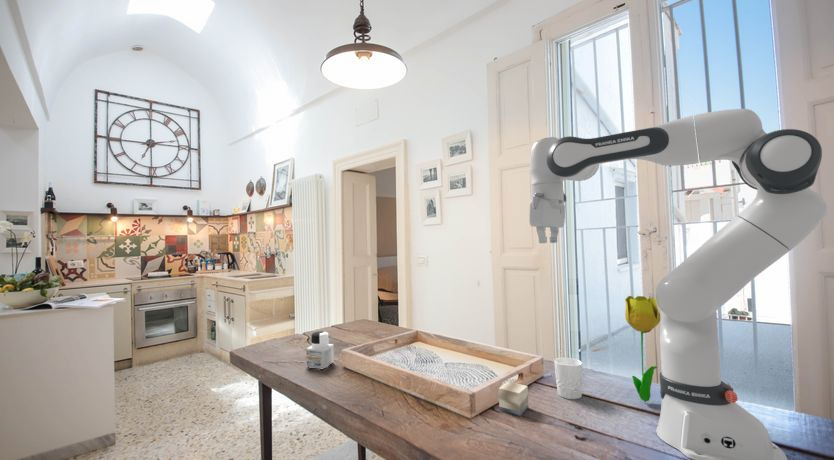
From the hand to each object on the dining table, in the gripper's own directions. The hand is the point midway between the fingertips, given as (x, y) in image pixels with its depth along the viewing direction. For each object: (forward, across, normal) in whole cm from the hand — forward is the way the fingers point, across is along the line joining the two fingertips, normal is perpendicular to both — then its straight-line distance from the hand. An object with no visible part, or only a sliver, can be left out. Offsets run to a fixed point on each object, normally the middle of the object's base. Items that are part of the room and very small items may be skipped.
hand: (548, 243), depth 105 cm
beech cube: (+46, -8, +8) cm, 48 cm away
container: (+47, -16, +84) cm, 98 cm away
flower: (+46, +16, -20) cm, 53 cm away
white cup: (+46, +10, -2) cm, 47 cm away
